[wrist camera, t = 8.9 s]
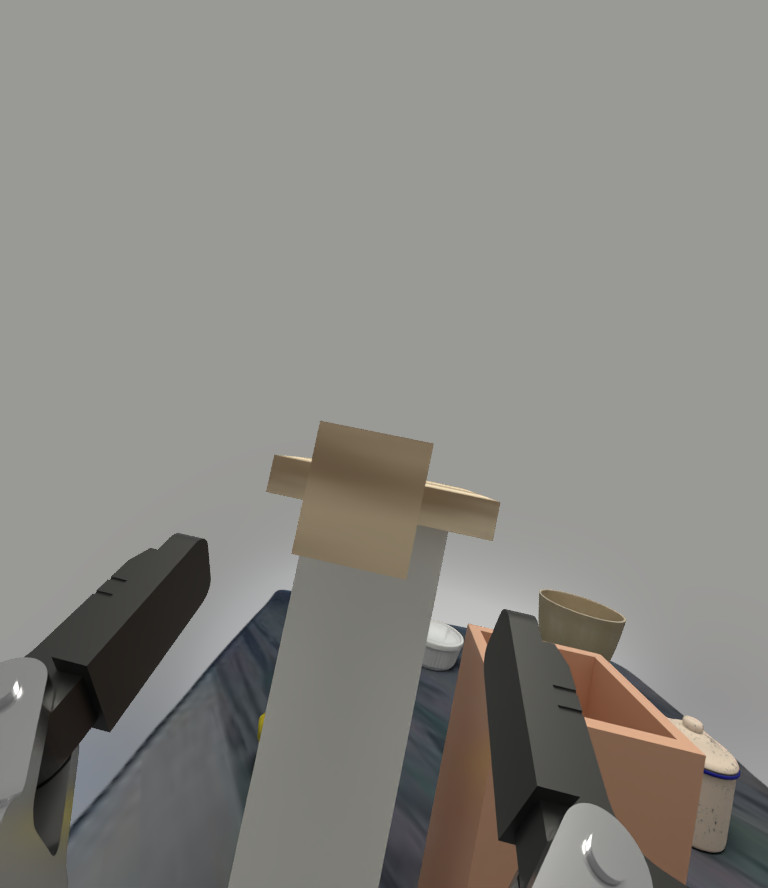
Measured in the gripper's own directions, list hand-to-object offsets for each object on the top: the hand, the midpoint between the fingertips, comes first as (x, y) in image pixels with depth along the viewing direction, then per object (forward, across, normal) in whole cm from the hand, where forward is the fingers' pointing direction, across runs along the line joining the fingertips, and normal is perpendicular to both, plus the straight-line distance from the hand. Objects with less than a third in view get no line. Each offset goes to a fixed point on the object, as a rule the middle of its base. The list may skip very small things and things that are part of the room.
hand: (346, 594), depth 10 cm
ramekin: (+41, -13, +60) cm, 73 cm away
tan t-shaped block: (+9, 0, +4) cm, 10 cm away
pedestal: (-2, 0, +35) cm, 35 cm away
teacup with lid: (+19, -40, +47) cm, 65 cm away
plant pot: (+42, -39, +60) cm, 83 cm away
